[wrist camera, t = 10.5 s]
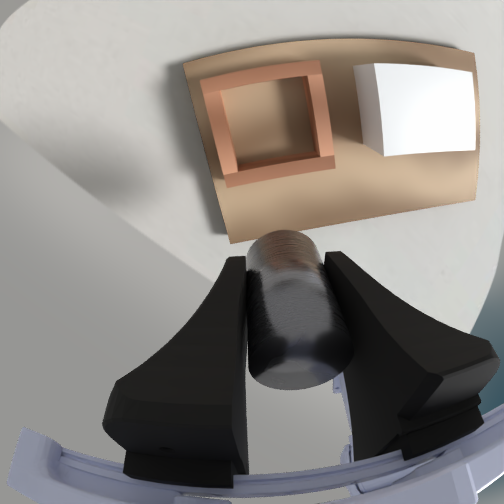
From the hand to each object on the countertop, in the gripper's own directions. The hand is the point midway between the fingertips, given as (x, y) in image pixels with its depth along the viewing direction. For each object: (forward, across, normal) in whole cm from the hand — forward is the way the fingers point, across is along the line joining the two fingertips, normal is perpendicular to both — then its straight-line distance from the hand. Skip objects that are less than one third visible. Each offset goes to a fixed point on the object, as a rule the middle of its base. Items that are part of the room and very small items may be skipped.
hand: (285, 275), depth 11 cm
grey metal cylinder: (+1, 0, 0) cm, 1 cm away
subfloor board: (+9, -6, -4) cm, 12 cm away
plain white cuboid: (+8, -9, -6) cm, 14 cm away
